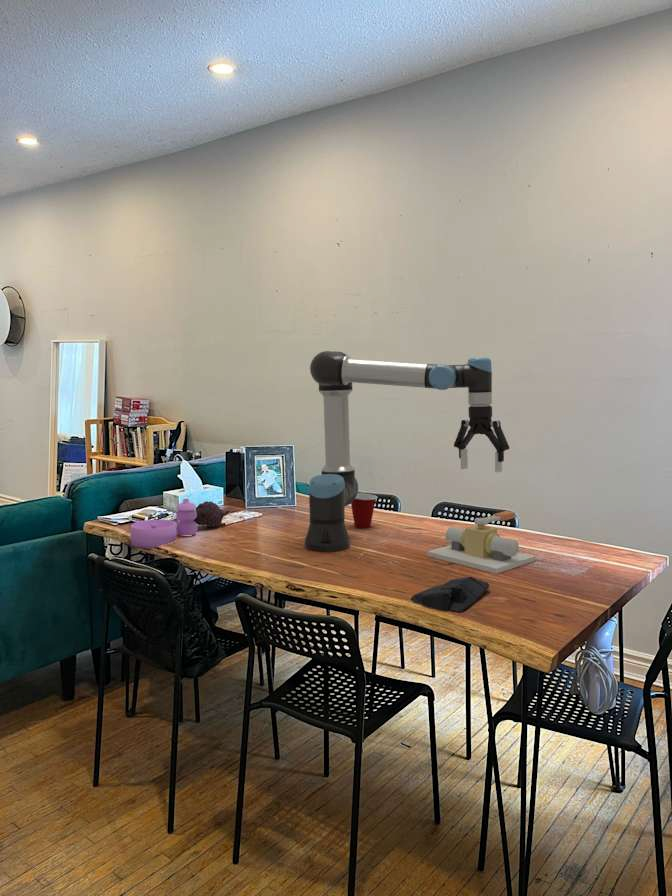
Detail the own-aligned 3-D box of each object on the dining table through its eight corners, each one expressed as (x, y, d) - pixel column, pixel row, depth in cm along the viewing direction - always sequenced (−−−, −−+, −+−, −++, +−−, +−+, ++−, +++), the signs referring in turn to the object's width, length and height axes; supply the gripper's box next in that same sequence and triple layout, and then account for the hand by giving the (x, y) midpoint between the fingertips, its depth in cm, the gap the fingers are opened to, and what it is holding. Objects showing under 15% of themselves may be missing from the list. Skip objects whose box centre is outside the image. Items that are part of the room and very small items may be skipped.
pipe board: (496, 573, 200) (496, 536, 199) (427, 556, 219) (427, 522, 218) (535, 560, 213) (536, 526, 212) (467, 545, 233) (467, 513, 231)
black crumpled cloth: (499, 593, 184) (499, 576, 184) (458, 616, 167) (458, 597, 167) (448, 582, 194) (448, 566, 193) (405, 603, 177) (405, 585, 176)
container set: (146, 550, 229) (145, 511, 228) (122, 542, 239) (120, 505, 238) (208, 536, 247) (207, 500, 246) (183, 530, 258) (182, 495, 256)
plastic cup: (378, 529, 256) (378, 497, 255) (348, 529, 256) (348, 497, 255) (377, 523, 267) (377, 492, 265) (348, 523, 267) (348, 492, 266)
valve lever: (482, 526, 212) (482, 520, 212) (471, 524, 215) (472, 518, 215) (515, 518, 224) (516, 512, 224) (505, 516, 227) (505, 510, 227)
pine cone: (196, 534, 251) (195, 506, 250) (180, 529, 258) (179, 503, 257) (235, 525, 264) (234, 499, 263) (219, 522, 271) (218, 496, 270)
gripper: (520, 405, 220) (520, 471, 222) (456, 404, 238) (457, 466, 240) (506, 406, 215) (507, 474, 217) (442, 405, 233) (443, 468, 235)
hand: (481, 470), depth 229 cm, fingers open, 13 cm apart
